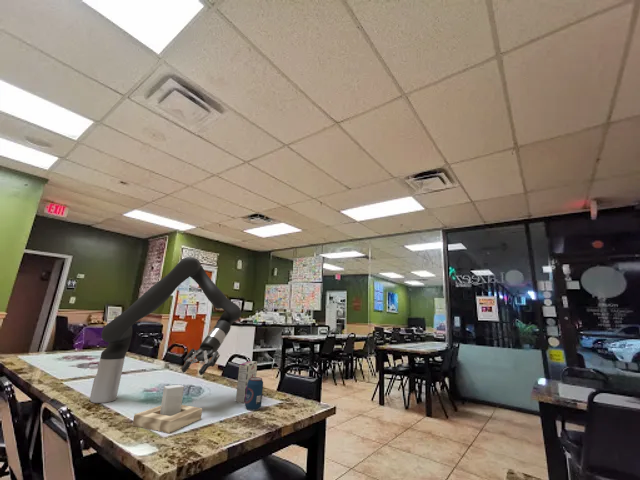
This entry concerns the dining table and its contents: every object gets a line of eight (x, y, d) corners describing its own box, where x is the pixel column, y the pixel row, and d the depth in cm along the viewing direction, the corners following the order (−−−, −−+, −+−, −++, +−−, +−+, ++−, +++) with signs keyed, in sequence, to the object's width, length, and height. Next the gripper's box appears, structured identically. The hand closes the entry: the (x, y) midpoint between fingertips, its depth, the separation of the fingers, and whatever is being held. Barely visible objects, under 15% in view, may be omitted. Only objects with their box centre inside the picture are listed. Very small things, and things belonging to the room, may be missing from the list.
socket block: (132, 425, 103) (134, 414, 104) (167, 412, 117) (169, 402, 118) (168, 433, 98) (170, 421, 99) (201, 418, 113) (202, 408, 113)
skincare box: (175, 418, 111) (180, 384, 114) (179, 421, 108) (184, 386, 111) (157, 421, 107) (163, 386, 110) (161, 425, 104) (167, 388, 107)
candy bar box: (245, 396, 146) (248, 360, 150) (254, 397, 145) (258, 361, 149) (234, 402, 135) (238, 363, 139) (244, 403, 134) (248, 364, 138)
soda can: (241, 407, 128) (244, 377, 131) (254, 405, 132) (257, 376, 135) (250, 412, 123) (253, 380, 126) (264, 408, 128) (266, 378, 131)
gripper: (197, 334, 133) (173, 364, 120) (224, 336, 129) (202, 368, 115) (203, 345, 137) (181, 376, 123) (229, 348, 132) (209, 380, 119)
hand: (191, 372), depth 119 cm, fingers open, 8 cm apart
